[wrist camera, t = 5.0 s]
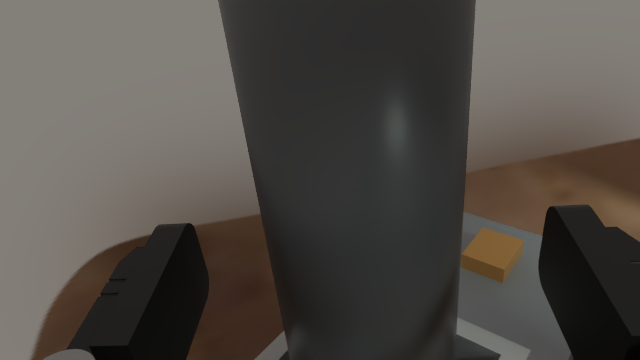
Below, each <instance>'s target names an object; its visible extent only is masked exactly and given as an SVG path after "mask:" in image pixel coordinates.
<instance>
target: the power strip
mask: <svg viewBox="0 0 640 360" xmlns="http://www.w3.org/2000/svg"><path fill="white" fill-rule="evenodd" d="M541 242H542V236H541V235H538V234H534V233H531V232H528V231H525V230H521V229H518V228H515V227H512V226H509V225H505V224H502V223H499V222H496V221H492V220H489V219H486V218H483V217H480V216H476V215H473V214H470V213H467V212H463V228H462V246H461V263H460V280H459V298H458V315H457V332H456V350H455V360H573V359H574V358H573V356H572V354H571V351H570V349H569V347H568V345H567V343H566V340H565V338H564V336H563V334H562V331H561V329H560V327H559V325H558V323H557V320H556V318H555V316H554V314H553V311H552V309H551V307H550V305H549V303H548V300H547V298H546V296H545V294H544V291H543V289H542V286H541V283H540V278H539V271H538V261H539V254H540V248H541ZM254 360H290V357H289V352H288V347H287V342H286V337H285V332H284V331H283V332H282V333H281V334H280V335H279V336H278V337H277V338H276V339H275V340H274V341H273V342H272V343H271V344H270V345H269V346H268V347H267V348H266V349H265V350H264V351H263V352H262V353H261V354H259V355H258V356H257V357H256V358H255V359H254Z"/></svg>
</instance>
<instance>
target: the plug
mask: <svg viewBox="0 0 640 360" xmlns="http://www.w3.org/2000/svg"><path fill="white" fill-rule="evenodd" d="M218 2H219V7H220V12H221V16H222V22H223V27H224V31H225V36H226V41H227V46H228V51H229V57H230V61H231V67H232V72H233V77H234V81H235V87H236V92H237V96H238V102H239V107H240V112H241V117H242V121H243V126H244V132H245V137H246V142H247V147H248V152H249V156H250V162H251V167H252V172H253V177H254V181H255V186H256V192H257V197H258V202H259V206H260V212H261V217H262V222H263V227H264V232H265V237H266V242H267V247H268V252H269V257H270V262H271V267H272V272H273V277H274V282H275V287H276V292H277V297H278V302H279V307H280V312H281V317H282V322H283V327H284V332H285V337H286V342H287V347H288V352H289V357H290V360H455V350H456V332H457V315H458V298H459V280H460V263H461V246H462V228H463V211H464V194H465V176H466V159H467V141H468V124H469V107H470V106H469V105H470V89H471V71H472V55H473V36H474V20H475V2H476V0H218Z"/></svg>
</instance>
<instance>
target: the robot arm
mask: <svg viewBox="0 0 640 360" xmlns="http://www.w3.org/2000/svg"><path fill="white" fill-rule="evenodd" d="M538 271H539V278H540V283H541V286H542V289H543V291H544V294H545V296H546V298H547V300H548V303H549V305H550V307H551V309H552V311H553V314H554V316H555V318H556V320H557V323H558V325H559V327H560V329H561V331H562V334H563V336H564V338H565V340H566V343H567V345H568V347H569V349H570V351H571V354H572V356H573V358H574V360H640V242H639V241H637V240H636V239H634V238H633V237H631V236H630V235H628V234H627V233H625V232H624V231H622V230H621V229H619V228H618V227H605V226H604V225H603V223H602V222H601V221H600V219H599V218H598V216H597V215H596V213H595V212H594V211H593V209H592V208H591V207H590V206H589V205H569V206H551V207H549V208H548V210H547V213H546V218H545V224H544V230H543V236H542V242H541V248H540V254H539V261H538ZM208 291H209V277H208V272H207V268H206V265H205V261H204V258H203V254H202V251H201V248H200V244H199V241H198V238H197V234H196V231H195V228H194V226H193V225H192V224H190V223H185V224H166V225H158V226H157V227H156V228H155V230H154V231H153V233H152V235H151V237H150V238H149V240H148V242H147V244H146V245H145V247H136V248H135V249H134V250H133V251H132V252H131V253H129V254H128V255H127V256H126V257H125V258H124V259H123V260H121V261H120V262H119V264H118V265H117V267H116V269H115V270H114V272H113V274H112V275H111V277H110V279H109V283H107V284H106V285H105V287H104V288H103V290H102V292H101V297H98V298H97V300H96V302H95V303H94V305H93V307H92V308H91V310H90V312H89V313H88V315H87V316H86V318H85V320H84V321H83V323H82V325H81V326H80V328H79V330H78V331H77V333H76V335H75V336H74V338H73V340H72V341H71V343H70V345H69V346H68V348H67V349H66V350H64V351H60V352H57V353H55V354H52V355H50V356H48V357H46V358H44V359H43V360H186V358H187V355H188V352H189V349H190V346H191V343H192V340H193V338H194V335H195V332H196V329H197V326H198V323H199V320H200V317H201V315H202V312H203V309H204V306H205V303H206V300H207V297H208Z"/></svg>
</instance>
